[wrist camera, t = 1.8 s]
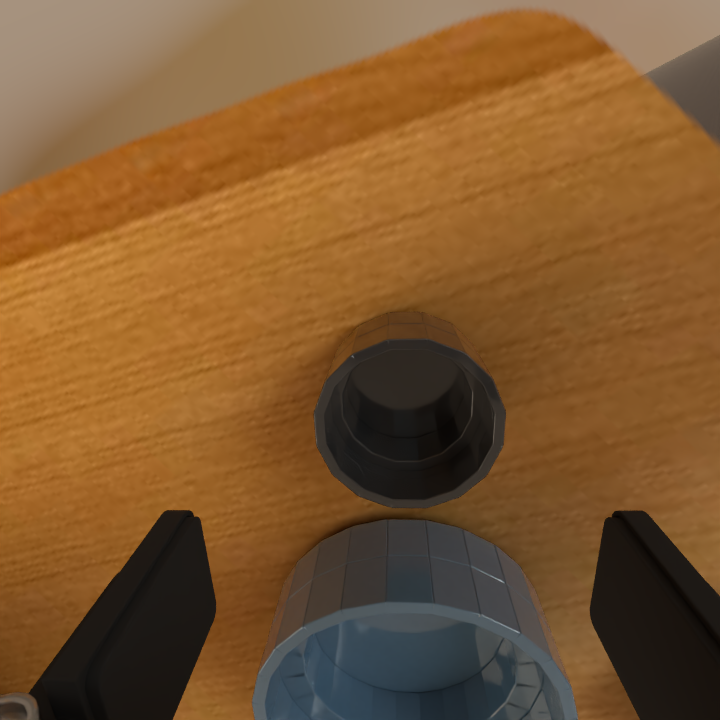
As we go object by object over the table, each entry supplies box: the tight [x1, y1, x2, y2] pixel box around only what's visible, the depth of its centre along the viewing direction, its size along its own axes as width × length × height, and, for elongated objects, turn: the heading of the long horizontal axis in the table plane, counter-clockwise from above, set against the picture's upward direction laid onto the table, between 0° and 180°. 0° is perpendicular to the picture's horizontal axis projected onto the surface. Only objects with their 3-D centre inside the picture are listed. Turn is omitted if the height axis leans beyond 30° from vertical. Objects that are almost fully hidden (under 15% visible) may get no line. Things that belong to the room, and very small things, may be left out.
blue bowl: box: [252, 519, 578, 720], centre depth 22 cm, size 14×14×6 cm
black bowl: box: [314, 312, 506, 508], centre depth 18 cm, size 7×7×4 cm
